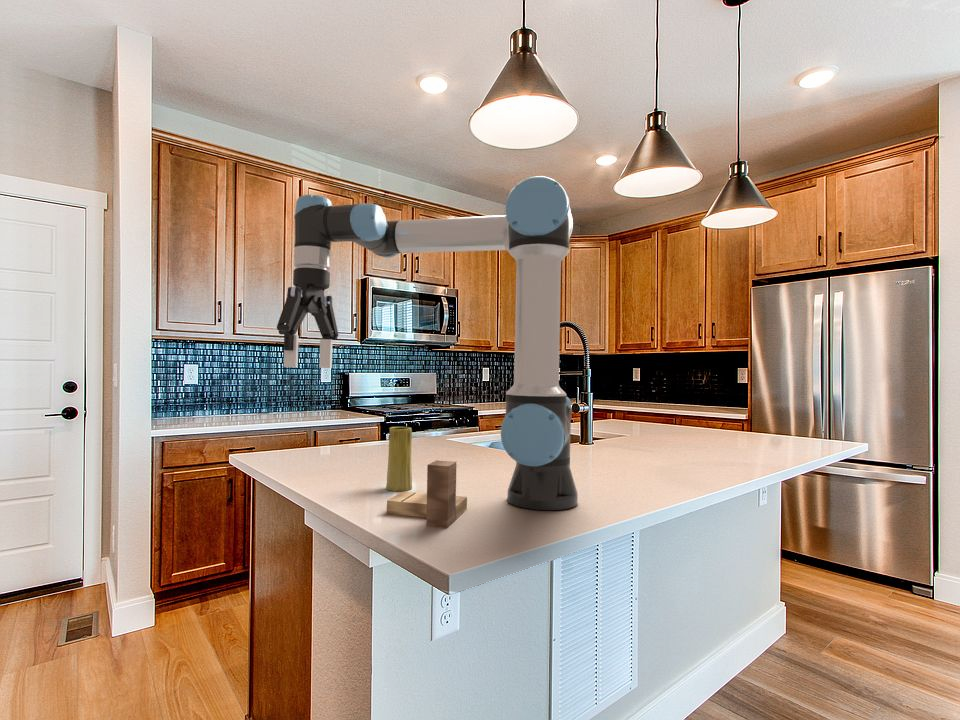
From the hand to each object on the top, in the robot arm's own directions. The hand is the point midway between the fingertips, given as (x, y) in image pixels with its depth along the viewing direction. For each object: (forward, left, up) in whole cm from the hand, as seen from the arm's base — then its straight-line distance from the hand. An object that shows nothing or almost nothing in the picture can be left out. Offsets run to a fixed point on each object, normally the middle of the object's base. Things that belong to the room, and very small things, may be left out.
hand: (309, 367), depth 113 cm
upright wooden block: (-33, +6, -28) cm, 44 cm away
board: (-28, +2, -28) cm, 40 cm away
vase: (-15, -15, -28) cm, 36 cm away
